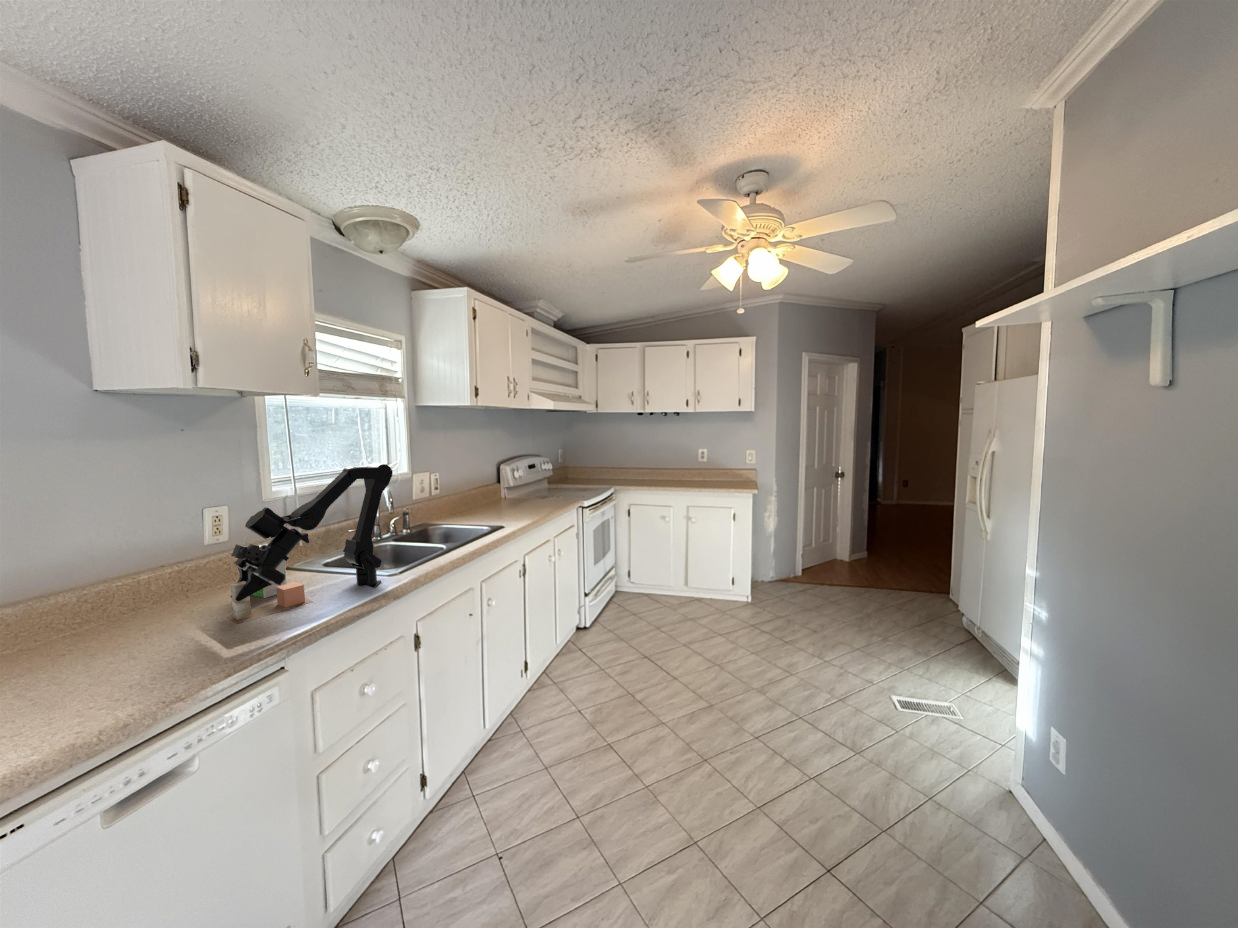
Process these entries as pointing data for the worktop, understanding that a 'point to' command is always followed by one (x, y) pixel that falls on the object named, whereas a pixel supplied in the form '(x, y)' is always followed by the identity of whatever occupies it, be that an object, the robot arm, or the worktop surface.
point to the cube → (290, 594)
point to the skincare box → (271, 589)
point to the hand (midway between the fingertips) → (234, 599)
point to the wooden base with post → (245, 613)
